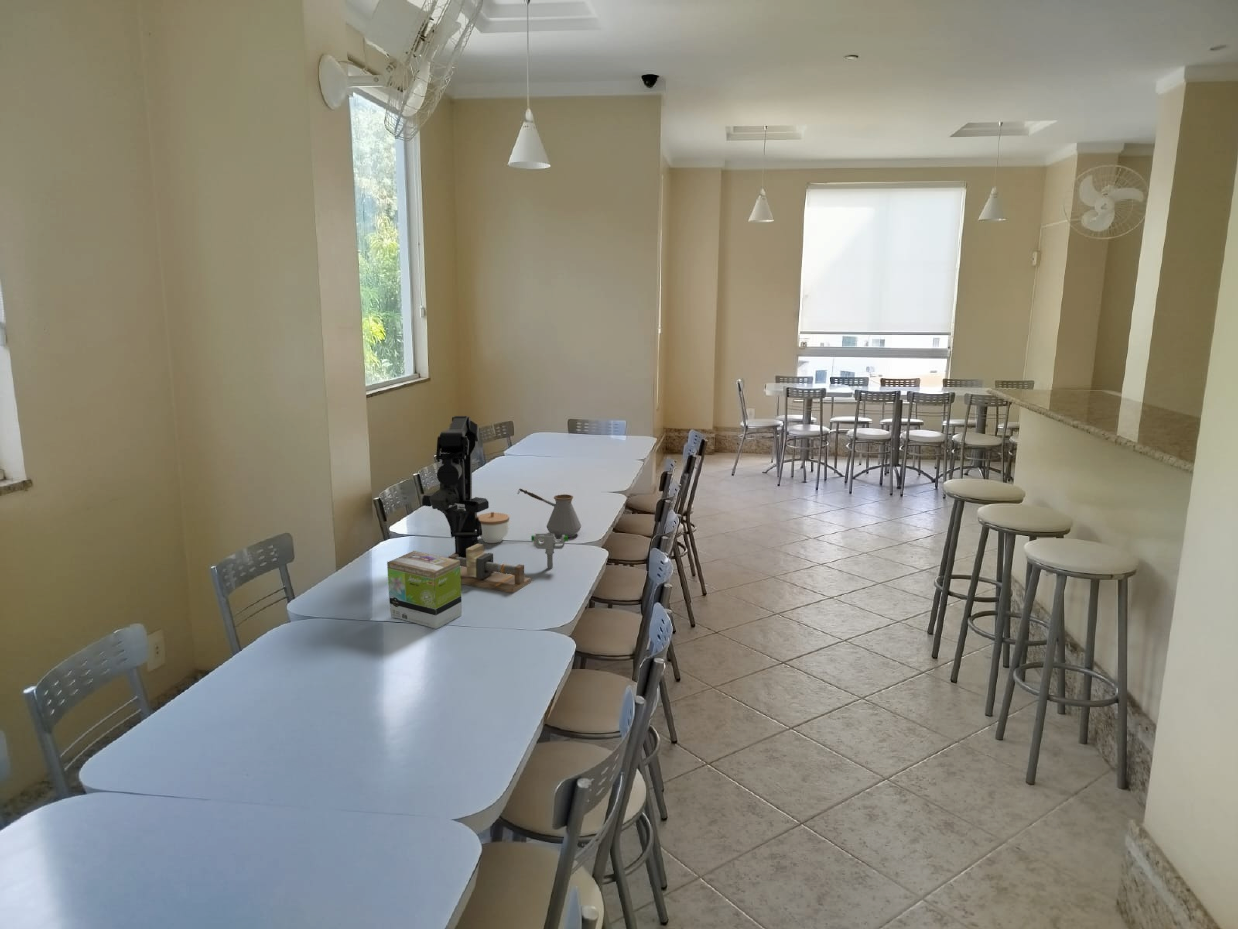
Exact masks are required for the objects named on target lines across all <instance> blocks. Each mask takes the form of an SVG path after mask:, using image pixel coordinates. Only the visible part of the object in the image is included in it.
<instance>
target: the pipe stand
mask: <svg viewBox="0 0 1238 929" xmlns="http://www.w3.org/2000/svg"><path fill="white" fill-rule="evenodd" d="M452 554H453V555H452ZM452 554H451V555H449V556H448V558H450V559H455V560H460V575H461V585H466V586H471V587H477V588H483V589H487V590H488V589H489V590H495V591H499V592H505V593H511V594H515V593H516V592H518V591H520V590H521V589H522V588H524V587H527V585H529V584H531V581H532V578H531V577H526V576H525V565H524V564H518V565H509V564H507V563H497V562H494V561H493V562H484V567H485V570H487V571H493V572H494V573H492V574H491V575H489V576H487V577H485V578H483V579H479V578H477V577H470V576H467V563H466V558H462V557H459V555H458V554H454V553H452Z"/></svg>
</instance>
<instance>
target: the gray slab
mask: <svg viewBox="0 0 1238 929" xmlns="http://www.w3.org/2000/svg"><path fill="white" fill-rule="evenodd" d="M486 553H487V554H485V555H483V556H481V557H479V558H477V578H479V579H483V578H485V577H487V576H489V575H491V574H492V573H494V572H493V571H487V570H485V567H484V562H493V563H494V553H492V552H486Z"/></svg>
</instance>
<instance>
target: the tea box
mask: <svg viewBox="0 0 1238 929" xmlns="http://www.w3.org/2000/svg"><path fill="white" fill-rule="evenodd" d="M386 566H387V580H388V581H387V582H388V583H387V584H388V597H389V598H388V601H389V616H390V617H391V618H395V619H400V620H404V621H407V622H410V623H415V624H418V625H420V626H421V625H422V626H424V627H427V628H432V629H434V630H437V629H440V628H441V627H443V626H445V625H446V624H448V623H450V622H452V621H454V620H455V619H457V618H459V617H461V616H462V615H463V610H462V608H463V607H462V584H461V575H460V567H461V566H460V560H455V559H450V558H449V557H444V556H440V555H435V554H432V553H427V552H422V551H421V552H420V551H416V550H412V551H410V552H407V553H406V554H404V555H401V556H399V557H396V558H395V559H392V560H389V561H387V562H386Z"/></svg>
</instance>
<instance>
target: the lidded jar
mask: <svg viewBox="0 0 1238 929" xmlns="http://www.w3.org/2000/svg"><path fill="white" fill-rule="evenodd" d="M477 517H479V520H480V522H481V526H482V535H481V536H479V538H481V539H482V541H483V542H485V543H489V544H495V543H501V542H503V540H504V539H505V537H507V535H508V533H509V529H510V528H509V527H510V515H508V514H506V513H504V512H503V513H501V512H495V511H490V512H488V513H487V512H486V513H481V514H479V515H477Z"/></svg>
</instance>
